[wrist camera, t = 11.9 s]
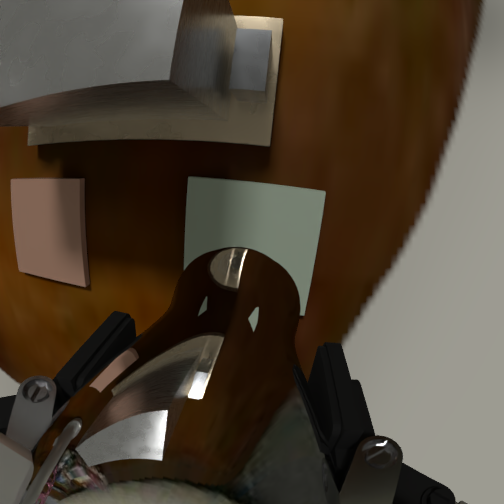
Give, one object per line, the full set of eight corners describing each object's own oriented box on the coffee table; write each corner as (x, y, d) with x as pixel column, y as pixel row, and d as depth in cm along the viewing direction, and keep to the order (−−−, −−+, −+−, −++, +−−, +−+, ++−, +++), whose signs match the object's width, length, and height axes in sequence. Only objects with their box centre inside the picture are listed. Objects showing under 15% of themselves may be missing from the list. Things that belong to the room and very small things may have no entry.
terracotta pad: (84, 178, 23) (79, 179, 22) (89, 283, 26) (85, 287, 25) (15, 178, 23) (10, 179, 22) (23, 268, 26) (19, 271, 25)
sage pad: (324, 191, 22) (325, 192, 21) (303, 310, 25) (304, 315, 24) (191, 176, 22) (188, 177, 21) (185, 295, 25) (183, 299, 24)
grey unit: (282, 26, 18) (287, -90, 5) (269, 146, 21) (263, 131, 8) (51, 49, 19) (-51, 23, 6) (37, 144, 22) (-76, 159, 9)
